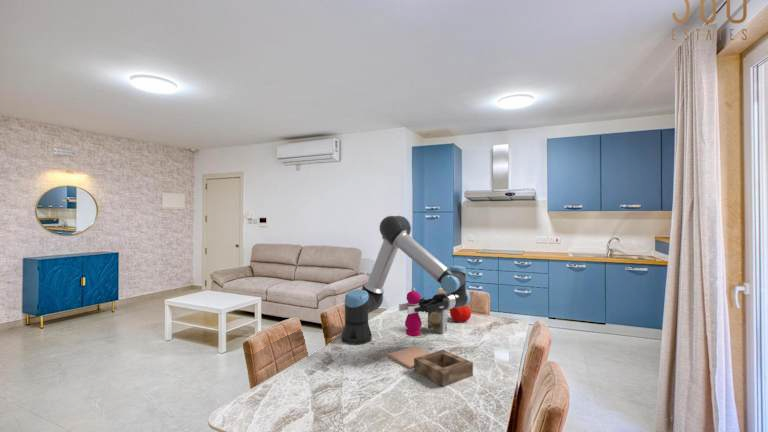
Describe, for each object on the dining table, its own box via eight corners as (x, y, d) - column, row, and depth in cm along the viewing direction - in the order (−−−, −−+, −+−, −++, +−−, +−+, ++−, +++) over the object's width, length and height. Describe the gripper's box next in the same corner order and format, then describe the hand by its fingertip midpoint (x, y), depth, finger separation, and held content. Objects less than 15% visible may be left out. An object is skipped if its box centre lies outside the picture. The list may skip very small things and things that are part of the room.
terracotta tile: (387, 356, 154) (387, 353, 154) (415, 348, 163) (415, 346, 163) (410, 369, 140) (410, 366, 140) (439, 359, 150) (439, 357, 150)
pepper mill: (420, 337, 147) (421, 289, 147) (403, 336, 149) (404, 289, 149) (422, 331, 154) (422, 286, 154) (406, 330, 156) (406, 285, 156)
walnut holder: (414, 370, 139) (414, 358, 139) (442, 361, 148) (443, 349, 148) (443, 387, 126) (443, 373, 126) (472, 375, 135) (472, 362, 135)
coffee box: (427, 331, 187) (427, 301, 188) (432, 328, 193) (432, 298, 193) (443, 334, 183) (443, 303, 183) (447, 331, 188) (447, 301, 188)
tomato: (453, 316, 215) (453, 300, 215) (473, 320, 207) (473, 303, 207) (445, 321, 206) (445, 303, 206) (466, 325, 198) (466, 307, 198)
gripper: (457, 314, 155) (417, 323, 141) (429, 305, 169) (391, 313, 156) (457, 297, 155) (417, 304, 141) (429, 290, 169) (391, 296, 156)
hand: (403, 309), depth 149 cm, fingers closed on pepper mill, 5 cm apart
